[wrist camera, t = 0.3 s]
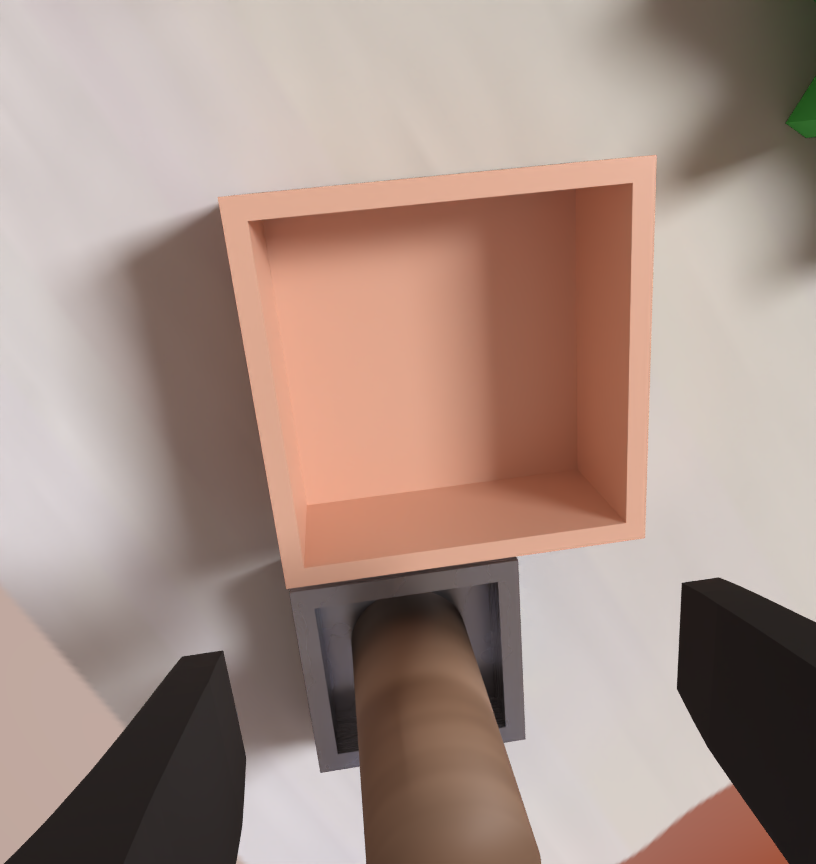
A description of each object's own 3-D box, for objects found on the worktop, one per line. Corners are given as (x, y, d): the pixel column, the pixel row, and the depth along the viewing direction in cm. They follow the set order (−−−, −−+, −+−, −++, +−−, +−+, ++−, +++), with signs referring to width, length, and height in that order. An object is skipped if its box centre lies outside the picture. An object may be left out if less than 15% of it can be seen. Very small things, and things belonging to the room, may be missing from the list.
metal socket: (508, 693, 24) (525, 739, 22) (320, 722, 23) (320, 772, 21) (499, 525, 21) (518, 560, 20) (292, 555, 21) (289, 593, 19)
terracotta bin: (587, 475, 21) (644, 538, 18) (292, 515, 21) (286, 589, 17) (587, 161, 18) (656, 154, 14) (239, 194, 17) (217, 197, 14)
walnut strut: (469, 677, 23) (543, 922, 15) (358, 695, 22) (377, 953, 15) (461, 582, 21) (539, 797, 14) (344, 599, 21) (358, 828, 14)
